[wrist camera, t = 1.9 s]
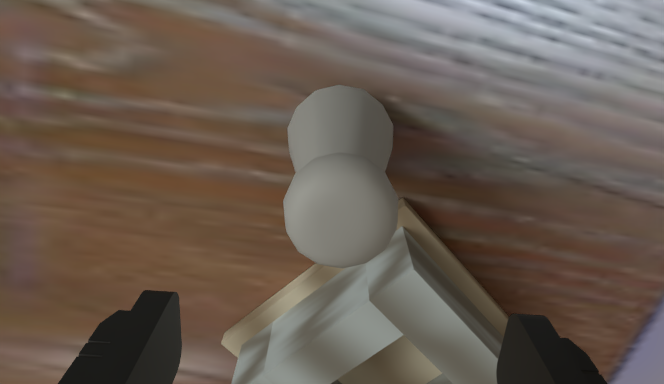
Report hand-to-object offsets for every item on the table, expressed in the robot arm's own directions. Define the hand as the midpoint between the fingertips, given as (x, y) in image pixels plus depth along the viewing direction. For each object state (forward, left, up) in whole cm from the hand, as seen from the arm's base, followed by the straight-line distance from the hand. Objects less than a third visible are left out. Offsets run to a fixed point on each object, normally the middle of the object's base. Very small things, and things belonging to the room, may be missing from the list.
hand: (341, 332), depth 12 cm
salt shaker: (0, 0, -19) cm, 19 cm away
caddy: (+8, +14, -19) cm, 25 cm away
